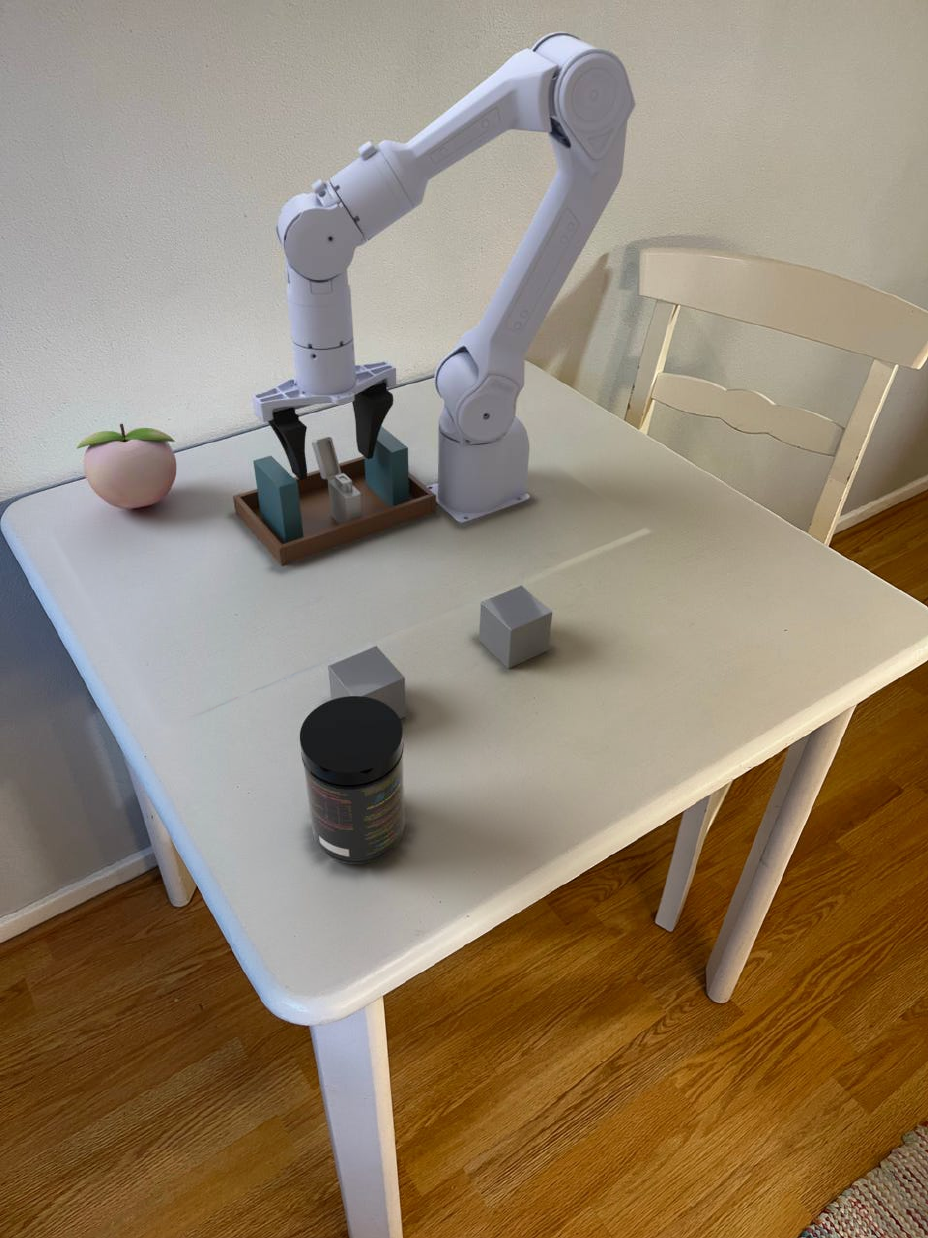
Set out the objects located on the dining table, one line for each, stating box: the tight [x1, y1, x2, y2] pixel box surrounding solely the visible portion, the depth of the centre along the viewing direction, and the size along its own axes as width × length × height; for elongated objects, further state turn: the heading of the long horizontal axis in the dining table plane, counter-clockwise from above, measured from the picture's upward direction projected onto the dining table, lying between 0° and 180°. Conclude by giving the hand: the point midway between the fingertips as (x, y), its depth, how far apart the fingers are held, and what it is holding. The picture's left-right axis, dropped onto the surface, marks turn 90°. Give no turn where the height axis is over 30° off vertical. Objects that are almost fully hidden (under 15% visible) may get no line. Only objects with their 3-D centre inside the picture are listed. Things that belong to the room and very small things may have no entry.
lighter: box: [311, 436, 362, 525], centre depth 93 cm, size 7×2×8 cm, turn 34°
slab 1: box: [253, 455, 303, 544], centre depth 91 cm, size 2×6×7 cm, turn 34°
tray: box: [232, 455, 437, 567], centre depth 95 cm, size 18×11×2 cm, turn 124°
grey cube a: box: [478, 585, 553, 669], centre depth 80 cm, size 4×4×4 cm
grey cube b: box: [327, 645, 407, 720], centre depth 73 cm, size 4×4×4 cm
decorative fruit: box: [76, 423, 177, 510], centre depth 93 cm, size 9×8×10 cm
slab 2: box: [365, 426, 409, 507], centre depth 96 cm, size 2×6×7 cm, turn 34°
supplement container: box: [299, 696, 406, 865], centre depth 62 cm, size 7×7×10 cm
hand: (333, 464), depth 92 cm, fingers open, 7 cm apart
